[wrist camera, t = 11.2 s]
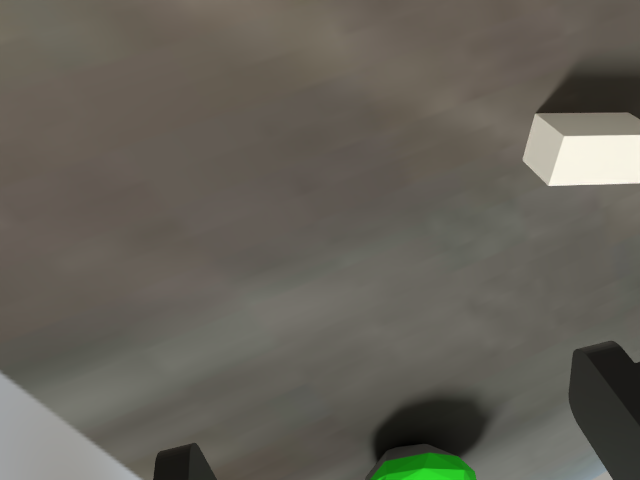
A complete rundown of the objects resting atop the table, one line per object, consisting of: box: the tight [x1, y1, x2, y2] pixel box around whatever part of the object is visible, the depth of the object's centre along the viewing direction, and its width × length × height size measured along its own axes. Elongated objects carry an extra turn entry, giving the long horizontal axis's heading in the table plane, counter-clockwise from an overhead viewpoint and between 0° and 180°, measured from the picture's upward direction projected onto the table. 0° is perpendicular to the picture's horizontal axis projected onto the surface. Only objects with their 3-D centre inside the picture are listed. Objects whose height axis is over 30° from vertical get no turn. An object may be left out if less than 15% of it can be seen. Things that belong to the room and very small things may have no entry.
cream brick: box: [523, 113, 640, 186], centre depth 37 cm, size 7×4×4 cm, turn 87°
